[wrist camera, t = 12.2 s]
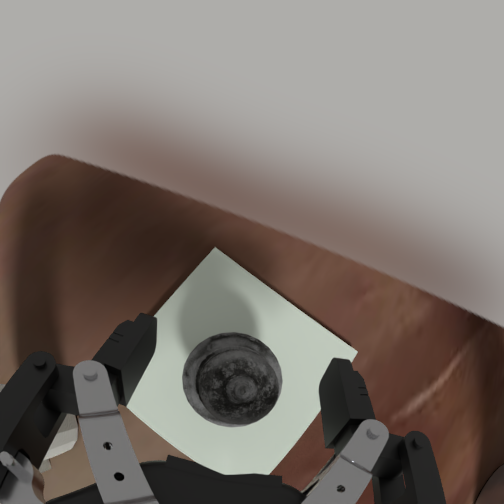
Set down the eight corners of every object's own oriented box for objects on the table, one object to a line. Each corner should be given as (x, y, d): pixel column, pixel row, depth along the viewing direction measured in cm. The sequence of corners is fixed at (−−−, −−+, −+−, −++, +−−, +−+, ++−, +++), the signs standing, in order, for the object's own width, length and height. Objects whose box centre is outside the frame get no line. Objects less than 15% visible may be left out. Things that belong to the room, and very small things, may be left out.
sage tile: (353, 352, 21) (357, 351, 20) (249, 490, 15) (250, 494, 15) (215, 251, 23) (215, 247, 22) (103, 380, 18) (99, 380, 17)
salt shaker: (217, 323, 20) (213, 260, 9) (287, 364, 19) (368, 353, 8) (173, 388, 17) (108, 410, 7) (244, 431, 17) (274, 505, 6)
